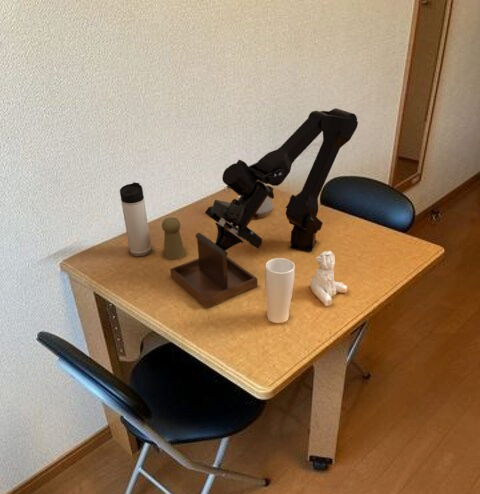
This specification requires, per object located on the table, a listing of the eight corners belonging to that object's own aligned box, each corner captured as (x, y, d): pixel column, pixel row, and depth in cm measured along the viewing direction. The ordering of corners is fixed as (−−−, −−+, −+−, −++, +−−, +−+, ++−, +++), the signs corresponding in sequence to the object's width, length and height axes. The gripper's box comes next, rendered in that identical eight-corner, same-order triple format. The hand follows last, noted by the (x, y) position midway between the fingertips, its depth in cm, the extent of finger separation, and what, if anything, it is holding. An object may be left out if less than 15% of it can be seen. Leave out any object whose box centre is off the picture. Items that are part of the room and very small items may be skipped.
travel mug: (155, 247, 149) (146, 183, 136) (145, 258, 144) (135, 193, 131) (137, 244, 150) (126, 180, 138) (126, 254, 145) (114, 190, 133)
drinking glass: (262, 310, 123) (263, 258, 114) (289, 308, 124) (292, 256, 114) (265, 327, 118) (267, 274, 109) (294, 325, 118) (297, 272, 109)
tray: (219, 258, 143) (217, 220, 135) (257, 286, 131) (257, 246, 124) (170, 276, 136) (166, 237, 128) (206, 308, 124) (203, 267, 116)
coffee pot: (251, 203, 171) (251, 160, 162) (279, 211, 166) (281, 167, 157) (213, 227, 158) (210, 182, 149) (242, 237, 153) (241, 191, 143)
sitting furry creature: (327, 308, 124) (332, 267, 116) (299, 294, 128) (302, 254, 121) (348, 291, 129) (354, 251, 122) (321, 279, 134) (325, 240, 126)
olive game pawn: (181, 260, 143) (177, 225, 136) (161, 258, 144) (156, 223, 137) (187, 249, 147) (184, 215, 140) (167, 247, 148) (163, 214, 141)
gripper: (209, 176, 127) (175, 227, 129) (253, 201, 115) (215, 257, 117) (234, 197, 135) (202, 244, 137) (278, 222, 123) (242, 274, 125)
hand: (214, 254), depth 129 cm, fingers closed, pressing on tray
